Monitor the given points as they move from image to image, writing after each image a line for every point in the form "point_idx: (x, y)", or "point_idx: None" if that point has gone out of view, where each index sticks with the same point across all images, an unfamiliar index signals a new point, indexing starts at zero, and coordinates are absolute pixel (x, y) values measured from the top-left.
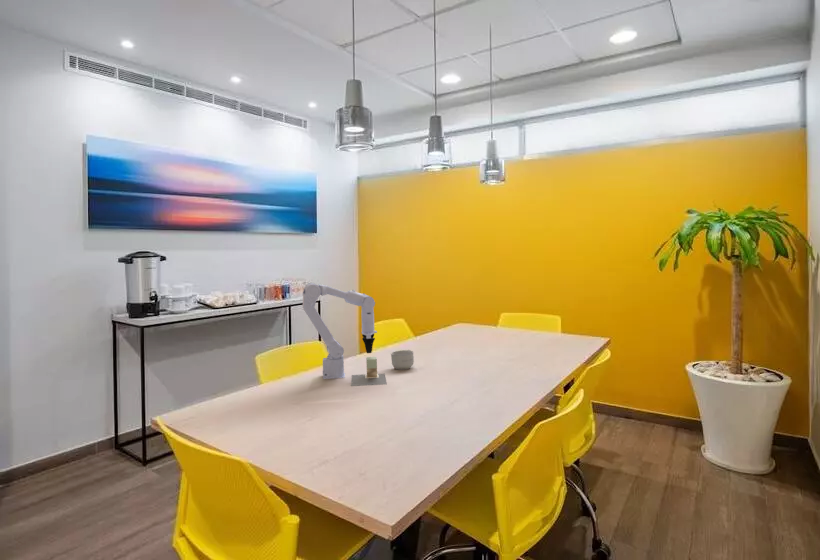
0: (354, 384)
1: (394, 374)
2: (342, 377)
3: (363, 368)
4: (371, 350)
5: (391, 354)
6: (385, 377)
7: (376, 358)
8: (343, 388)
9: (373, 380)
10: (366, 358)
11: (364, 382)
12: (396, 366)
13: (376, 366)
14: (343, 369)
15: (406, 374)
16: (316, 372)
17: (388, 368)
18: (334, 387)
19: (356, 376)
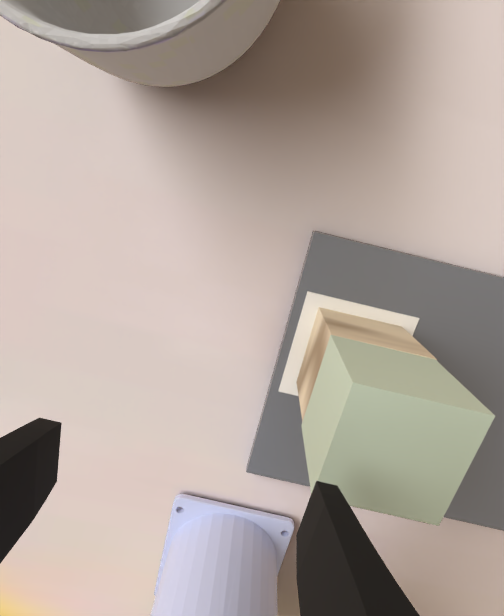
0: (489, 508)
1: (353, 142)
2: (280, 530)
3: (57, 343)
4: (359, 524)
5: (114, 47)
6: (446, 264)
7: (449, 406)
8: (497, 562)
9: (472, 376)
10: (374, 510)
11: (482, 443)
12: (236, 59)
13: (442, 372)
14: (246, 564)
15: (415, 12)
16: (79, 610)
17: (119, 132)
18: (446, 594)
19: (300, 453)
